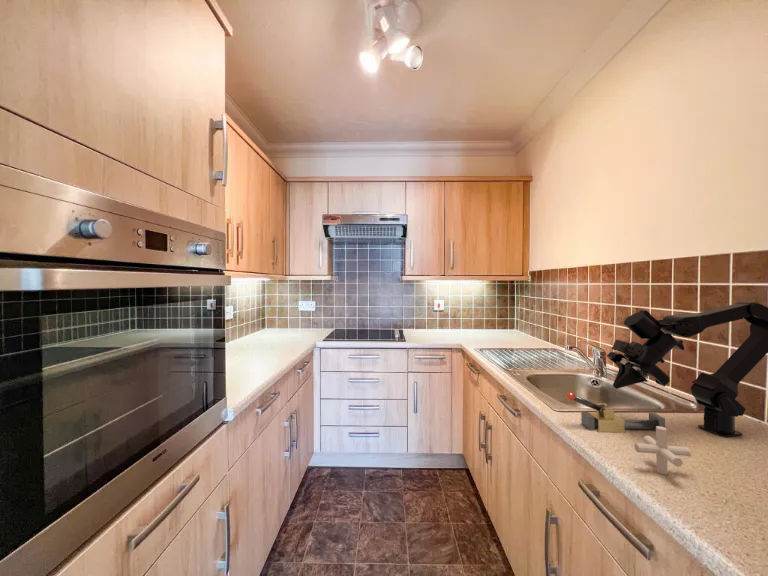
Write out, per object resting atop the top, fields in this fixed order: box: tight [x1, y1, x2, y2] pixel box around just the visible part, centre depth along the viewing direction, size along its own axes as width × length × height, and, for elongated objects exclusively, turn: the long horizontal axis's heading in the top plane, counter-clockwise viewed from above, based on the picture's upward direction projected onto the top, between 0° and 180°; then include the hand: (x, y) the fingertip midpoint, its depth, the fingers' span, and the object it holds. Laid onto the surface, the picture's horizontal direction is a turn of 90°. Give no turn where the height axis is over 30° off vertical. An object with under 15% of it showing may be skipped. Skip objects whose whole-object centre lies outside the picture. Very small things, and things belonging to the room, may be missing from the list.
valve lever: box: [565, 391, 608, 415], centre depth 93 cm, size 3×3×13 cm
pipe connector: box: [633, 426, 692, 475], centre depth 70 cm, size 10×10×10 cm
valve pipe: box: [580, 402, 666, 434], centre depth 92 cm, size 21×6×6 cm, turn 84°
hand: (614, 387), depth 92 cm, fingers closed
